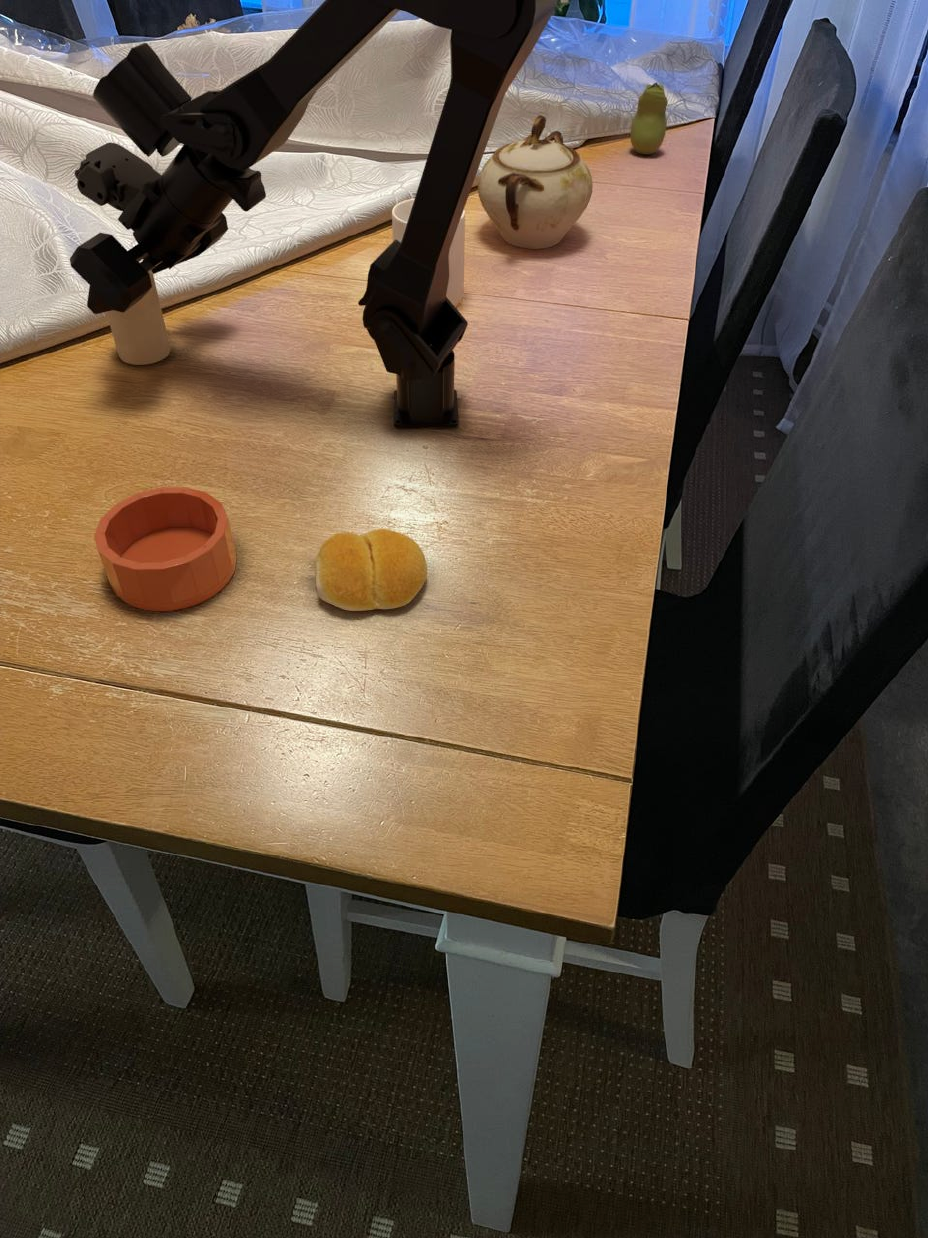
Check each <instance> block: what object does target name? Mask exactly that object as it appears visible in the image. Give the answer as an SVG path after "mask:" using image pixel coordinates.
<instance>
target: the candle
mask: <svg viewBox="0 0 928 1238" xmlns="http://www.w3.org/2000/svg"><path fill="white" fill-rule="evenodd" d="M140 262H141V261H139V263H140ZM148 273H149V275H150V279H151V283H152V288H151V289H150V290H149V291H148V293H147V294H146V295H145V296H144V297H143V298H142V299H141V300H139V301H138V302H137V303H136V304H134V305H133V306H132V307H130V308H129V309H128V310H126V311H125V312H124V313H123V312H119V311H115V310H112V311H108V312H105V313H106V316H107V320H108V324H109V326H110V331H111V334H112V338H113V341H114V345H115V348H116V351H117V355H118V356H119V358H120V360H121V361H122V362H124V363H125V364H129V365H133V366H145V365H146V366H147V365H153V364H155V363H158V362H160V361H163V360H164V359H166V358H167V357H168V356H169V355H170V353H171V344H170V339H169V335H168V330H167V325H166V323H165V318H164V314H163V309H162V306H161V301H160V297H159V293H158V289H157V284H156V282H155V281H156V279H155V277H154V274H153V273H152V271H151V270H150V271H149V272H148Z"/></svg>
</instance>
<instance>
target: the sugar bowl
mask: <svg viewBox="0 0 928 1238" xmlns="http://www.w3.org/2000/svg"><path fill="white" fill-rule="evenodd" d="M546 124H547V118H546V116H545V115H543V114H542V115H541V114H540V115H538V116H537V117H535V120H534V122H533V124H532V127H531V131H530V132H531V133H530V134H529V135H528V136H526V137H525V138H523V139H520V140H515V141H513V142H510V143H505V144H504V145H502V146H499V147H498V148H497V149H496V150H495V151H494V152H493V154H492V155H491V156H490V157H489V158H488V159H487V161H486V162H485V163H484V164H483V166H482V168H481V170H480V173H479V176H478V180H477V194H478V198H479V202H480V203H481V206H482V208H483V209H484V211H485V213H486V214H487V216H488V217H489V219H490V221H491V222H492V223H493V226H495V228H496V230H498V232H499V233H500V235H501V237H502V239H503V240H504V241H505V242H507V243H509V244H510V245H512V246H515V247H518V248H523V249H532V250H533V249H534V250H541V249H547V248H551V247H553V246H556V245H558V244H559V243H560V242H561V241H562V240H563V239H564V237H565V236H566V235H567V233H568V232H569V231H570V230H571V229H572V227H573V226H574V225H575V224H576V223H577V222H578V221H579V219H580V218H581V216H582V215H583V213H584V212H585V210H586V209H587V207H588V205H589V203H590V201H591V199H592V195H593V188H594V187H593V186H594V185H593V178H592V177H593V176H592V173H591V171H590V169H589V167H588V164H586V162H585V161H584V160H583V159H582V158H581V157H580V154H579V153H578V152H577V150H575V149H574V148H572V147H571V146H568V145H565V144H564V137H563V134H562V132H561V131H559V130H554V131H552V132H551V133H550V134H549V135H548V136H546V137H545V138H541V136H542V134H543V131H544V130H545V128H546Z"/></svg>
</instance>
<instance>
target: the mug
mask: <svg viewBox="0 0 928 1238" xmlns="http://www.w3.org/2000/svg"><path fill="white" fill-rule="evenodd" d="M414 200H415V197H414V198H409V199H405V200H403V201H400V202H399V203H397V204H395V205H394V206H393V208H392V210H391V226H392V227H391V229H392V230H391V231H392V242H393V241H394V240H395V239H396V240H398V241H399V242H400V243H401V242H402V238H403V235H404V232H405V229H406V225H407V222H408V219H409V216H410V212H411V209H412V206H413V203H414ZM465 241H466V210H465V209H464V210H463V213H462V216H461V219H460V221H459V224H458V227H457V230H456V233H455V235H454V238H453V241H452V244H451V247H450V250H449V281H448V287H447V293H446V297H447V298H448V299H449V301H450V302H451V303H452V304H453V305H454V307H455V308H456V307H457V306H458V305H459V304H460V303H461V302H462V299H463V297H464V289H465V288H464V287H465V244H466V243H465Z"/></svg>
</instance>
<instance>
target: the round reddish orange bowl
mask: <svg viewBox="0 0 928 1238" xmlns="http://www.w3.org/2000/svg"><path fill="white" fill-rule="evenodd" d="M93 537H94V541H95V545H96V549H97V552H98V555H99V557H100V561H101V563H102V566H103V567H104V571H105V573H106V576H107V580H108V582H109V585H110V586H111V588H112V590H113V592H114V594H115V595H116V596H117V597H118V598H119V599H120V600H122V601H123V602H124V603H126V604H128V605H130V606H132V607H134V608H137V609H140V610H144V611H151V612H170V611H171V612H172V611H178V610H179V611H180V610H183V609H188V608H190V607H193V606H197V605H198V604H201V603H203V602H205V601H207V600H209V599H211V598H212V597H214V596H215V595H217V594H218V593H219V592H220V591H222V590H223V589H224V588H225V586H226V585H227V584H229V582H230V580H231V579H232V578H233V575H234V572H235V570H236V567H237V556H236V548H235V542H234V538H233V534H232V529H231V524H230V521H229V516H228V514H227V511H226V509H225V507H224V505H223V503H222V502H221V501H219V499H216V498H215V497H214V496H212V495H211V494H210V493H208V492H206V491H202V490H198V489H194V488H191V487H187V486H163V487H157V488H152V489H149V490H145V491H140V492H137V493H135V494H133V495H130V496H129V497H127V498H125V499H123V500H121V501H119V502H116V504H114V505H113V506H112V507H111V508H110V509H109V510H108V511H107V512H106V513H105V514H104V515H102V516H101V518H100V519H99V521H98V524H97V527H96V529H95V532H94V535H93Z"/></svg>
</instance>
